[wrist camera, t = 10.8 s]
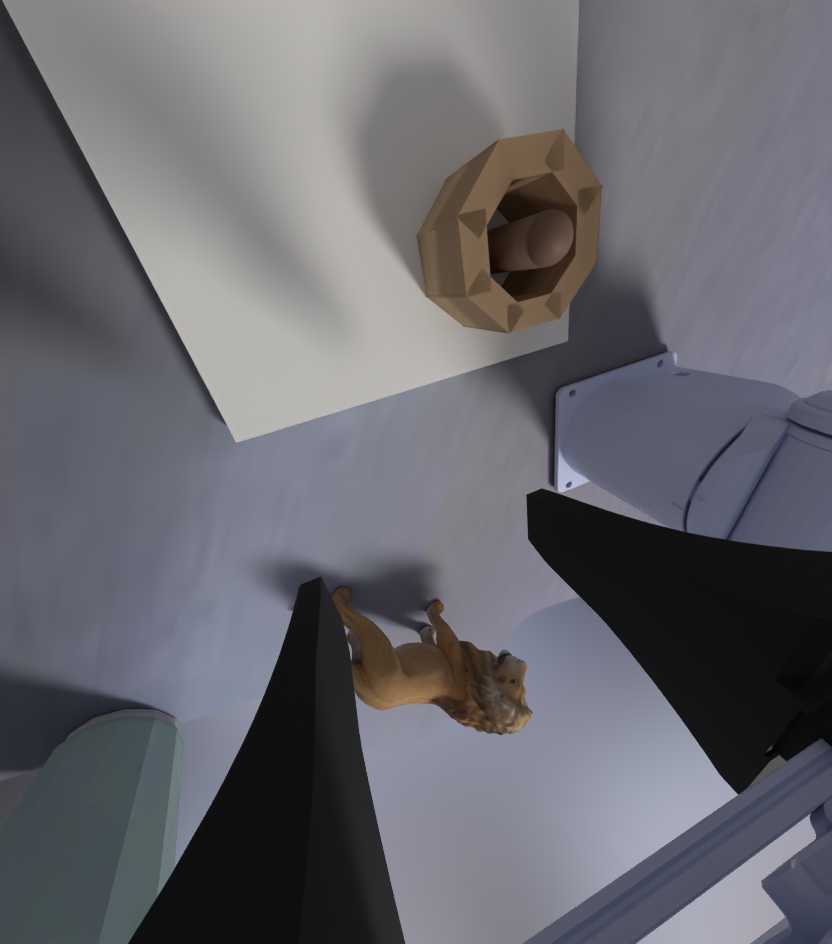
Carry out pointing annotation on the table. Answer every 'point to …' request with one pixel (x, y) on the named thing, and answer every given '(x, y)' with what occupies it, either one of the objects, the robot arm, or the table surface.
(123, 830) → the disposable coffee cup
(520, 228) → the rod
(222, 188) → the white flat rectangular panel
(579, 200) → the oak bead
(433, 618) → the lion figurine
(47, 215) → the table surface
